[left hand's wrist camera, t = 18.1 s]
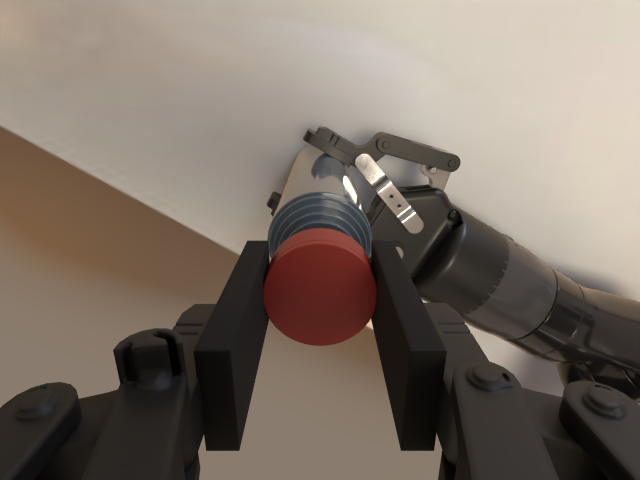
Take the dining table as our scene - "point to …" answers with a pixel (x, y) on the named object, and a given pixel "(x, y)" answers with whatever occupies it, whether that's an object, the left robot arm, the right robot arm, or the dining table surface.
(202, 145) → the dining table surface
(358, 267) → the cap
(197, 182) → the dining table surface
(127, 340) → the left robot arm
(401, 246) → the right robot arm
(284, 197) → the bottle
